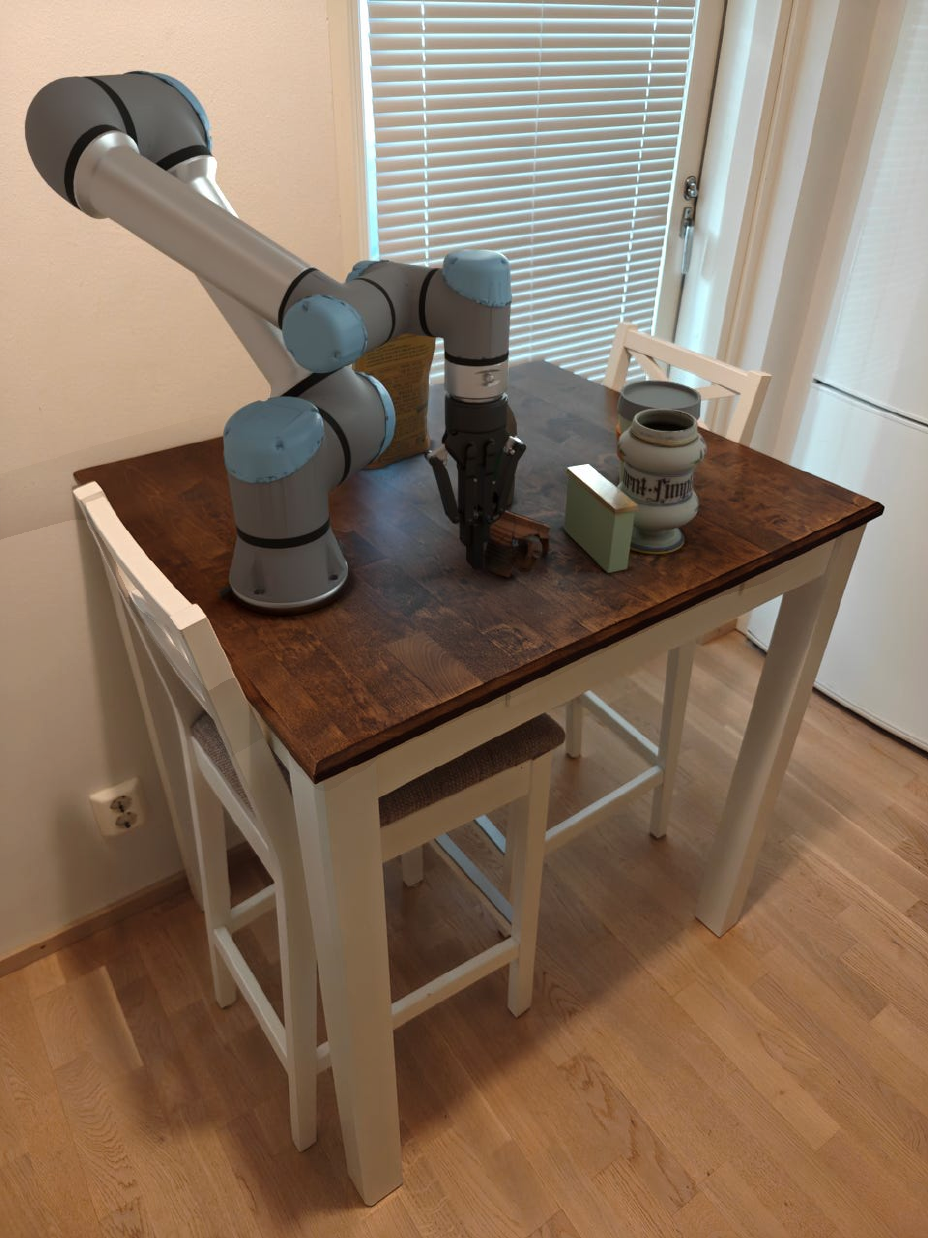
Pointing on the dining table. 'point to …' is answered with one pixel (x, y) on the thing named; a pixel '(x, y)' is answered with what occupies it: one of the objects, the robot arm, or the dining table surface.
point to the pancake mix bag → (403, 392)
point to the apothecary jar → (661, 476)
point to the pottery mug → (526, 553)
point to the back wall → (599, 517)
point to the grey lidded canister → (653, 403)
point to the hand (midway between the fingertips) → (474, 563)
